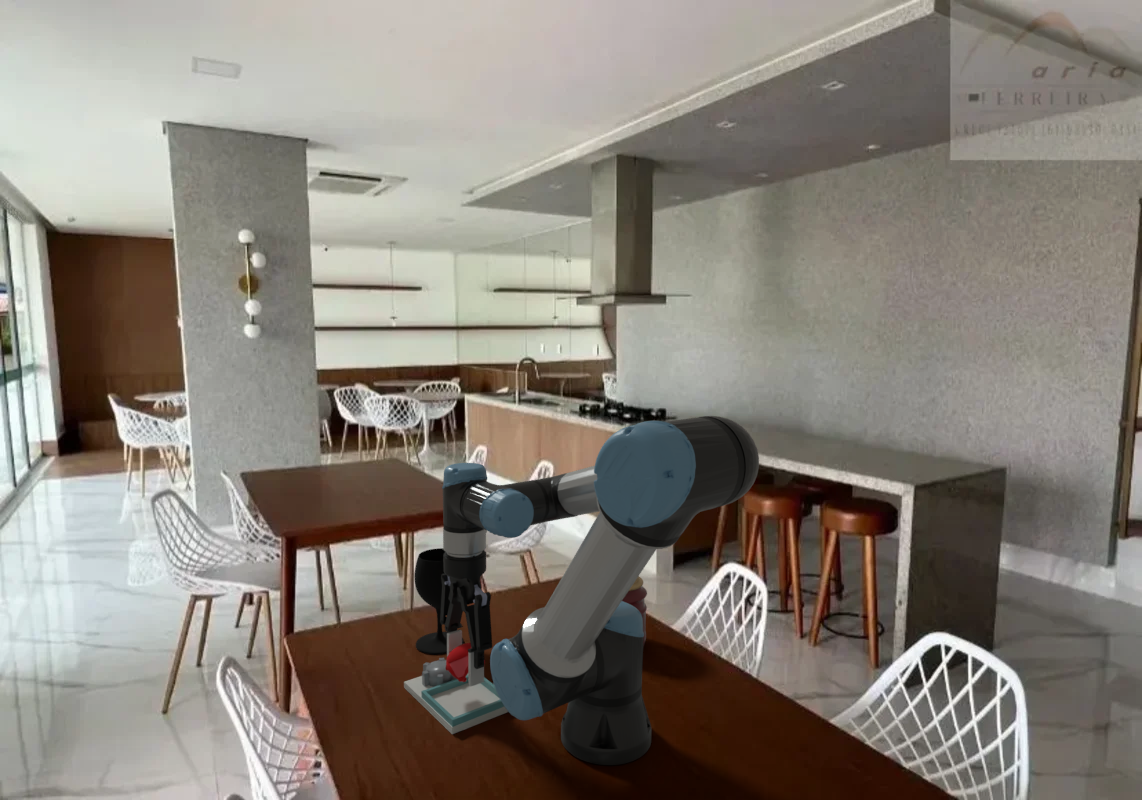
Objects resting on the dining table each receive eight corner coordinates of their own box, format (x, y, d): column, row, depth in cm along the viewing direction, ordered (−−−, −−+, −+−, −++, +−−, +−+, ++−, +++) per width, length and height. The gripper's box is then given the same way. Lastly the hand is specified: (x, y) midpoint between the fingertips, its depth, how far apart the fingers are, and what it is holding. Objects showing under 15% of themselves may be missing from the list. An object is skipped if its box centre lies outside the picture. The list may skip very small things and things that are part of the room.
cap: (497, 655, 122) (477, 631, 125) (479, 658, 117) (459, 632, 120) (470, 688, 123) (451, 663, 126) (451, 692, 118) (432, 666, 120)
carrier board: (511, 710, 121) (511, 690, 121) (452, 734, 114) (452, 713, 113) (459, 668, 136) (459, 651, 135) (404, 687, 128) (403, 669, 128)
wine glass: (406, 642, 147) (405, 553, 145) (447, 629, 154) (446, 544, 152) (431, 659, 139) (430, 566, 138) (473, 644, 146) (472, 555, 145)
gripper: (514, 562, 114) (513, 691, 116) (456, 533, 129) (456, 647, 132) (475, 571, 109) (475, 705, 111) (420, 540, 125) (421, 658, 127)
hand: (465, 674), depth 121 cm, fingers closed on cap, 7 cm apart
